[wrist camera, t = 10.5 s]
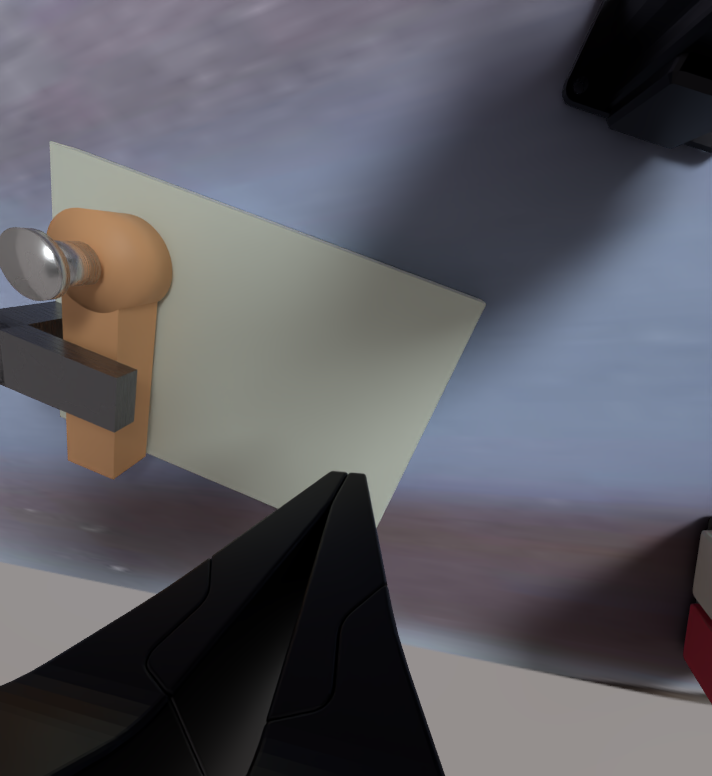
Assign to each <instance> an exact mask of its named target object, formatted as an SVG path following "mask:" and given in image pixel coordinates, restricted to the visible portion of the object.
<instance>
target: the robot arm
mask: <svg viewBox="0 0 712 776" xmlns="http://www.w3.org/2000/svg"><path fill="white" fill-rule="evenodd" d="M575 82H582V83H583V84H584V91H583V93H581V94H576V93H575V92H574V90H573V85H574V83H575ZM562 97H563V100H564V102H565V103H566V104H568V105H569V106H572V107H575V108H578V109H581V110H584V111H587V112H590V113H593V114H596V115H599V116H602V117H605V118H607V120H606V121H607V124H608V127H609V128H610V129H613V130H616V131H619V132H622V133H625V134H628V135H631V136H634V137H637V138H640V139H643V140H646V141H649V142H652V143H654V144H657V145H660V146H663V147H666V148H674V147H677V146H679V145H681V144H686V145H689V146H692V147H695V148H698V149H701V150H703V151H706V152H709V153H712V0H603V2H602V5H601V7H600V9H599V11H598V13H597V15H596V18H595V20H594V22H593V24H592V26H591V28H590V31H589V33H588V35H587V37H586V39H585V41H584V44H583V46H582V48H581V50H580V52H579V54H578V57H577V59H576V61H575V63H574V65H573V67H572V70H571V72H570V74H569V76H568V78H567V80H566V83H565V85H564V88H563V91H562ZM0 776H445V774H444V771H443V768H442V765H441V762H440V759H439V756H438V753H437V751H436V748H435V745H434V742H433V739H432V736H431V733H430V730H429V727H428V724H427V721H426V718H425V716H424V712H423V710H422V707H421V704H420V701H419V698H418V695H417V692H416V689H415V687H414V683H413V680H412V677H411V674H410V671H409V668H408V665H407V662H406V658H405V655H404V652H403V649H402V645H401V642H400V639H399V635H398V631H397V627H396V623H395V618H394V614H393V610H392V605H391V600H390V595H389V590H388V587H387V581H386V575H385V570H384V565H383V560H382V555H381V550H380V544H379V539H378V534H377V529H376V524H375V519H374V514H373V508H372V503H371V498H370V493H369V488H368V483H367V477H366V475H365V474H364V473H352V472H351V473H349V474H348V473H347V472H341V471H331V472H329V473H327V474H326V475H325V476H323V477H322V478H320V479H319V480H318V481H316V482H315V483H313V484H312V485H311V486H309V487H308V488H306V489H305V490H304V491H302V492H301V493H299V494H298V495H297V496H295V497H294V498H292V499H291V500H290V501H288V502H287V503H285V504H284V505H283V506H281V507H280V508H278V509H277V510H276V511H274V512H273V513H272V514H270V515H269V516H267V517H266V518H265V519H263V520H262V521H260V522H259V523H258V524H256V525H255V526H253V527H252V528H251V529H249V530H248V531H246V532H245V533H244V534H242V535H241V536H239V537H238V538H237V539H235V540H234V541H232V542H231V543H230V544H228V545H227V546H225V547H224V548H223V549H221V550H220V551H218V552H217V553H216V554H214V555H213V556H212V559H207V560H206V561H204V562H203V563H201V564H200V565H199V566H197V567H196V568H194V569H193V570H192V571H190V572H189V573H187V574H186V575H184V576H183V577H181V578H180V579H179V580H177V581H176V582H174V583H173V584H171V585H170V586H168V587H167V588H165V589H164V590H162V591H161V592H159V593H158V594H156V595H155V596H153V597H151V598H150V599H148V600H147V601H145V602H144V603H142V604H140V605H139V606H138V607H136V608H134V609H133V610H131V611H129V612H128V613H126V614H125V615H123V616H121V617H120V618H118V619H116V620H115V621H113V622H112V623H110V624H108V625H107V626H105V627H103V628H102V629H100V630H99V631H97V632H95V633H94V634H92V635H90V636H89V637H87V638H86V639H84V640H82V641H81V642H79V643H77V644H76V645H74V646H73V647H71V648H69V649H68V650H66V651H64V652H63V653H61V654H60V655H58V656H56V657H55V658H53V659H52V660H50V661H48V662H47V663H45V664H43V665H41V666H40V667H38V668H36V669H35V670H33V671H31V672H29V673H27V674H25V675H23V676H21V677H19V678H17V679H15V680H13V681H11V682H9V683H6V684H4V685H2V686H0Z"/></svg>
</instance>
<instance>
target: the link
mask: <svg viewBox="0 0 712 776" xmlns="http://www.w3.org/2000/svg"><path fill="white" fill-rule="evenodd" d="M47 235H48V236H50V237H51V238H52V239H53V240H58V241H81V242H84V243H86V244H87V245H89V246H90V247H91V248H92V249H93V250H94V251H95V252H96V254H97V256H98V258H99V260H100V263H101V270H102V271H101V277H100V279H99V280H98V282H96V283H95V284H92V285H84V286H74V287H69V288H68V290H67V292H66V293H65V294H64V295H63V296H62V297H61V298H62V323H63V340H66V341H68V342H71V343H73V344H76V345H78V346H80V347H83V348H85V349H88V350H90V351H93V352H95V353H97V354H100V355H102V356H105V357H107V358H110V359H112V360H115V361H117V362H119V363H122V364H124V365H127V366H129V367H132V368H134V369H137V384H136V399H135V414H134V422H132V423H130V424H129V425H127V426H125V427H124V428H122V429H120V430H118V431H117V432H115V433H114V432H112V431H109V430H107V429H104V428H102V427H100V426H97V425H95V424H93V423H90V422H88V421H86V420H83V419H81V418H78V417H76V416H74V415H71V414H69V413H67V412H66V424H67V450H68V461H71V462H73V463H75V464H78V465H80V466H83V467H85V468H87V469H90V470H92V471H94V472H97V473H99V474H101V475H104V476H106V477H109V478H111V479H115V478H116V477H118V476H119V475H120V474H122V473H123V472H125V471H126V470H127V469H129V468H130V467H131V466H133V465H134V464H136V463H137V462H138V461H140V460H141V459H143V458H144V457H145V456H146V445H147V432H148V419H149V406H150V393H151V380H152V367H153V354H154V341H155V328H156V315H157V302H158V301H160V300H161V299H162V298H163V297H164V296H165V295H166V293H167V292H168V290H169V288H170V285H171V281H172V262H171V257H170V254H169V251H168V249H167V246H166V244H165V242H164V240H163V239H162V237H161V236H160V234H159V233H158V232H157V231H156V230H155V229H154V228H153V227H152V226H151V225H150V224H149V223H148V222H146V221H145V220H143V219H142V218H140V217H137V216H135V215H132V214H126V213H117V212H109V211H101V210H93V209H84V208H69V209H65V210H63V211H61V212H60V213H58V214H57V215H56V216H55V217H54V218H53V220H52V221H51V223H50V225H49V227H48V231H47Z"/></svg>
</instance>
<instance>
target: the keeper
mask: <svg viewBox="0 0 712 776" xmlns="http://www.w3.org/2000/svg"><path fill="white" fill-rule="evenodd" d="M0 267H1V269H2V271H3V273H4V275H5V277H6V278H7V280H8V281H9V283H10V284H11V285H12V286H13V287H14V288H15V289H16V290H17V291H18V292H19V293H20V294H22V295H23V296H25V297H27V298H29V299H32V300H36V301H43V300H51V299H57V298H60V297H62V296H63V295H64V294H65V293H66V292H67V290H68V288H69V287H74V286H84V285H92V284H95V283H96V282H98V280H99V279H100V277H101V271H102V270H101V263H100V260H99V258H98V256H97V254H96V252H95V251H94V250H93V249H92V248H91V247H90V246H89V245H87V244H86V243H84V242H81V241H58V240H53V239H52V238H51V237H50V236H48V235H47V234H45V233H44V232H42V231H40V230H37V229H33V228H17V227H15V228H9V229H7V230H5V231H4V232H3V233H2V234H1V235H0ZM136 384H137V369H134V368H132V367H129V366H127V365H124V364H122V363H119V362H117V361H115V360H112V359H110V358H107V357H105V356H102V355H100V354H97V353H95V352H93V351H90V350H88V349H85V348H83V347H80V346H78V345H76V344H73V343H71V342H68V341H66V340H63V323H62V304H61V303H59V302H56V301H54V302H46V303H39V304H32V305H24V306H17V307H9V308H2V309H0V385H3V386H5V387H7V388H10V389H12V390H15V391H17V392H19V393H22V394H24V395H26V396H29V397H31V398H34V399H36V400H38V401H41V402H43V403H45V404H48V405H50V406H52V407H55V408H57V409H60V410H62V411H64V412H67V413H69V414H71V415H74V416H76V417H78V418H81V419H83V420H86V421H88V422H90V423H93V424H95V425H97V426H100V427H102V428H104V429H107V430H109V431H112V432H114V433H115V432H117V431H118V430H120V429H122V428H124V427H125V426H127V425H129V424H130V423H132V422H134V414H135V399H136Z"/></svg>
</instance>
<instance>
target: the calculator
mask: <svg viewBox="0 0 712 776" xmlns="http://www.w3.org/2000/svg"><path fill="white" fill-rule="evenodd" d="M693 595H694V597H695V598H696V604H694V603H692V604H691V605H690V610H689V617H688V623H687V630H686V637H685V643H684V650H683V657H684V659H685V661H686V663H687V665H688V666H689V668H690V669H691V671H692V673H693V674H694V676H695V678H696V679H697V681H698V682H699V684H700V686H701V687H702V689H703V691H704V692H705V694H706V695H707V697H708V699H709V700H710V702H711V703H712V518H710V520H709V523H708V529H707V530H703V531H702V533H701V537H700V544H699V551H698V557H697V564H696V570H695V577H694V584H693Z"/></svg>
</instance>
